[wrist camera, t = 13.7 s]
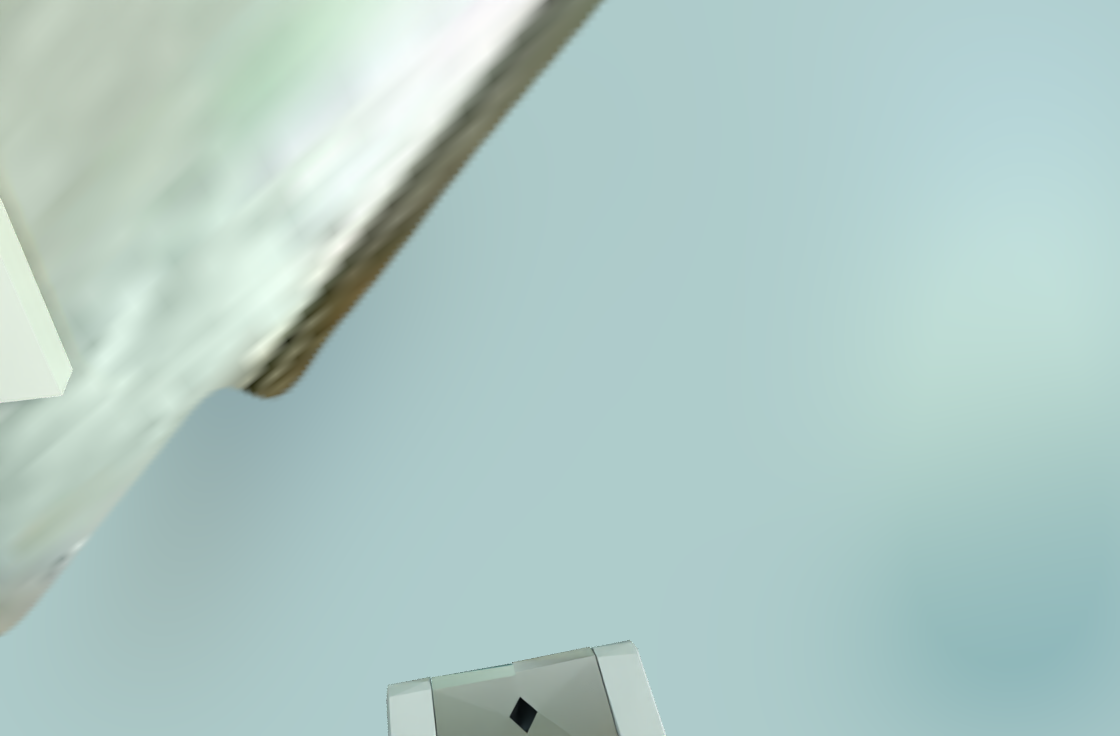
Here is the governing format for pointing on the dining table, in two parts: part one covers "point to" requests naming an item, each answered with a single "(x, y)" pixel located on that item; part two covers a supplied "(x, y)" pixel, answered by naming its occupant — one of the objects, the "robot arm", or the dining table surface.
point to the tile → (26, 329)
